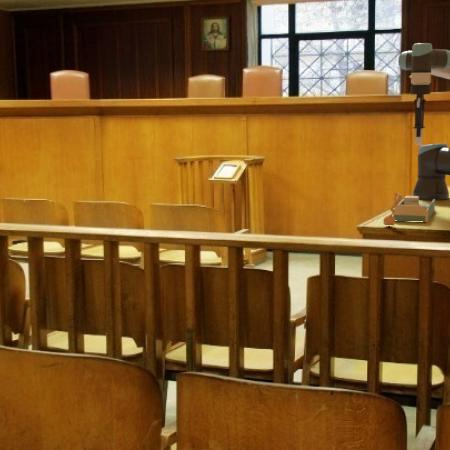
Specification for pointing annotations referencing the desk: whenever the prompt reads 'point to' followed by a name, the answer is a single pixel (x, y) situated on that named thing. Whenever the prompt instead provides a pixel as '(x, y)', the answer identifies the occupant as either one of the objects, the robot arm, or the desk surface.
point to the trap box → (414, 212)
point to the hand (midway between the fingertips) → (418, 145)
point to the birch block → (411, 200)
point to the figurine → (390, 219)
